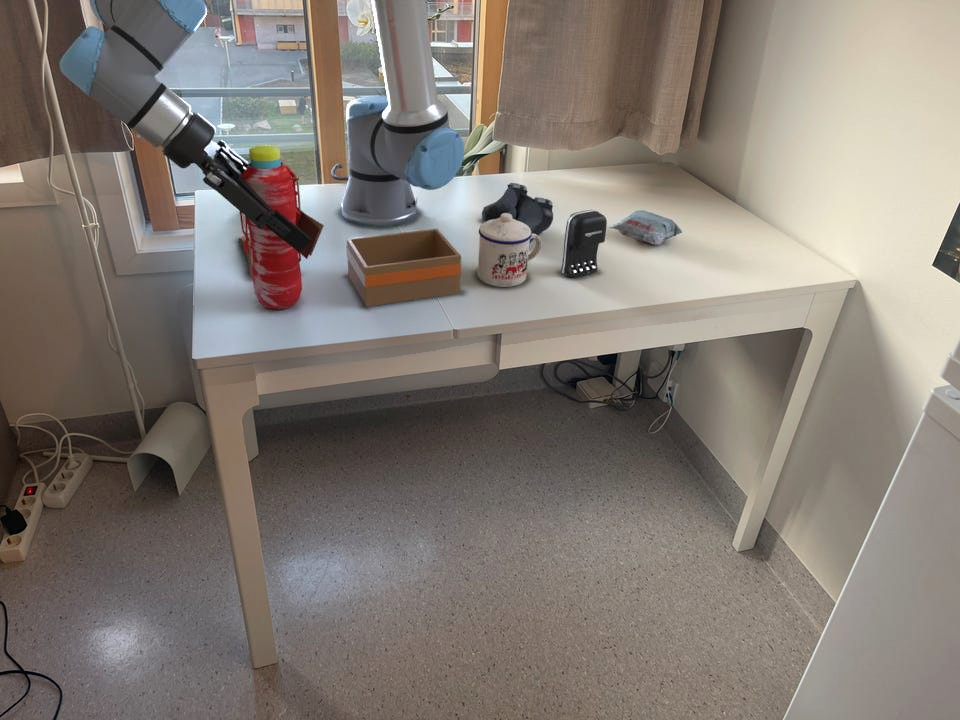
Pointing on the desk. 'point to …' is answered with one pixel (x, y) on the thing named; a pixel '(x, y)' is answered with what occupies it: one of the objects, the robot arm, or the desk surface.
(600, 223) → the battery charger
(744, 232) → the desk surface
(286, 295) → the water bottle
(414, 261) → the wooden box
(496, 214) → the binoculars
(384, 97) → the robot arm
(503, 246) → the teacup with lid
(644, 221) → the packaged food
